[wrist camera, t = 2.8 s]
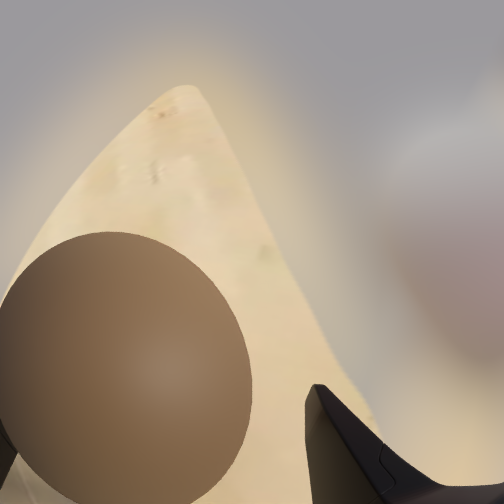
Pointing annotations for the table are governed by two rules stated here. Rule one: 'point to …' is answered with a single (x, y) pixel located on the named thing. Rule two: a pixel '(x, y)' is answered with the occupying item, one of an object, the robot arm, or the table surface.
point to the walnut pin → (122, 372)
